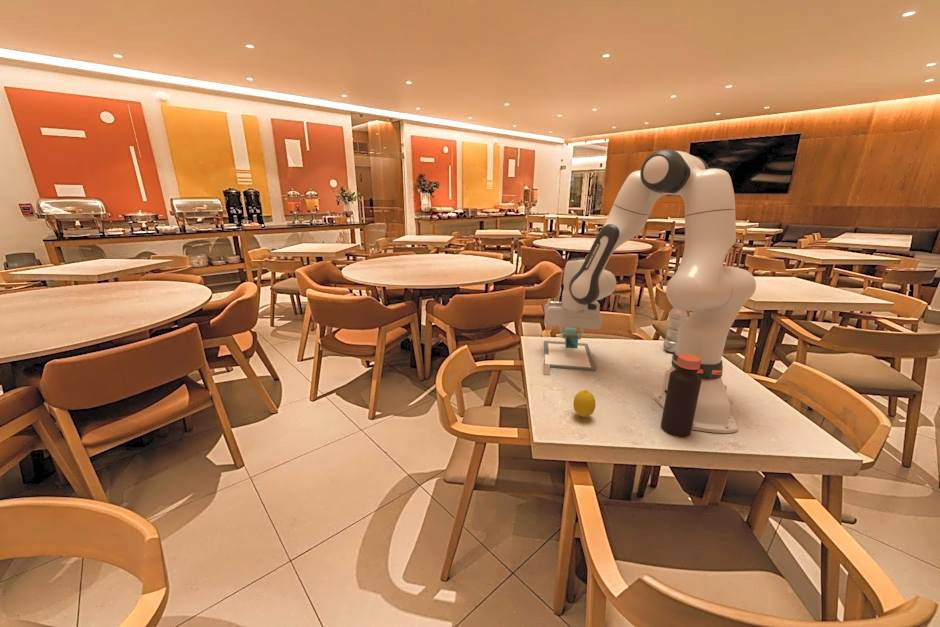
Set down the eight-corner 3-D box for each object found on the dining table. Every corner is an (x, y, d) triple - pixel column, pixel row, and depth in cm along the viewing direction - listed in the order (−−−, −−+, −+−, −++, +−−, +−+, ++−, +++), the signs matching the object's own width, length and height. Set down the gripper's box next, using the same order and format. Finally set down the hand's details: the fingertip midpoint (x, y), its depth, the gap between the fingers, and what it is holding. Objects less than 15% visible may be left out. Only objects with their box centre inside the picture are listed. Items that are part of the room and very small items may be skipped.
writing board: (595, 371, 127) (596, 368, 127) (544, 367, 130) (545, 364, 130) (587, 345, 150) (587, 343, 150) (543, 342, 153) (544, 340, 152)
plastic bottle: (664, 353, 143) (672, 302, 137) (660, 347, 149) (669, 298, 143) (682, 355, 141) (692, 304, 135) (679, 349, 147) (688, 299, 141)
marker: (577, 348, 134) (578, 337, 133) (565, 347, 135) (566, 337, 134) (574, 336, 147) (575, 326, 145) (563, 335, 147) (564, 325, 146)
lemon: (570, 411, 103) (572, 385, 101) (590, 411, 103) (593, 385, 100) (574, 422, 98) (577, 395, 95) (596, 423, 98) (599, 395, 95)
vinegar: (660, 433, 94) (673, 359, 88) (660, 420, 100) (673, 350, 94) (691, 441, 91) (707, 365, 85) (689, 426, 97) (704, 354, 91)
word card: (549, 375, 124) (550, 364, 123) (544, 374, 124) (545, 363, 123) (548, 365, 132) (549, 354, 131) (543, 364, 132) (544, 354, 131)
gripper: (544, 303, 134) (542, 339, 138) (604, 306, 131) (600, 343, 135) (544, 298, 140) (542, 333, 144) (601, 301, 137) (597, 337, 141)
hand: (570, 338), depth 139 cm, fingers closed on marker, 4 cm apart
